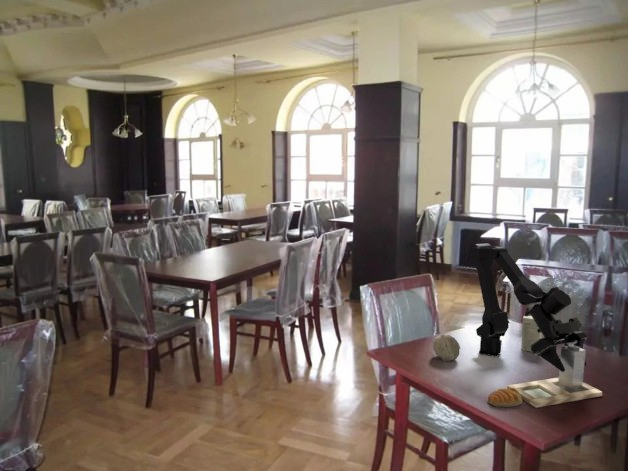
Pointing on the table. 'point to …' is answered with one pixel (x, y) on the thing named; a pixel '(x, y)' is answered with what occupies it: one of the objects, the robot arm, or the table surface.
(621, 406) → the table surface
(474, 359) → the table surface
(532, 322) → the skincare box
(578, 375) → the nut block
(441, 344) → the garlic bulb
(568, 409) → the table surface
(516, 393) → the pastry
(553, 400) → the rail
